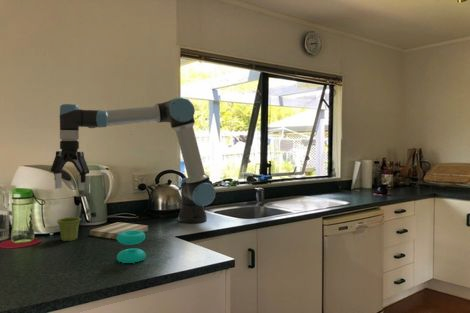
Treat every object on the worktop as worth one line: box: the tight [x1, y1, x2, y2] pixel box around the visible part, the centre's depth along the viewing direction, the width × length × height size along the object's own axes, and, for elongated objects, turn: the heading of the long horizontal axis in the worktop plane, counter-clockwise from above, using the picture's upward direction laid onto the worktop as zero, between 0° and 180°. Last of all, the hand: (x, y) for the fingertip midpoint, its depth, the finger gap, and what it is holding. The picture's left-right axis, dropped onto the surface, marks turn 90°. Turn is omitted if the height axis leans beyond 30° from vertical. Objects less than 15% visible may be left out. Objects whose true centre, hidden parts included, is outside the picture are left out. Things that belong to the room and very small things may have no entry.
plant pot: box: [56, 216, 82, 242], centre depth 164 cm, size 9×9×9 cm
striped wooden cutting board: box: [89, 221, 149, 240], centre depth 176 cm, size 18×18×3 cm
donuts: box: [116, 230, 147, 264], centre depth 136 cm, size 10×10×10 cm
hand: (69, 189), depth 166 cm, fingers open, 13 cm apart
